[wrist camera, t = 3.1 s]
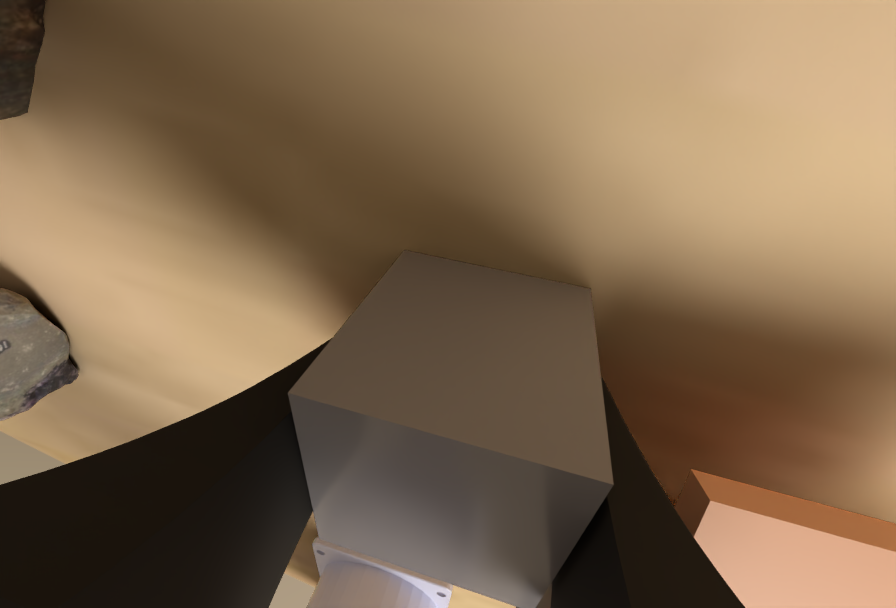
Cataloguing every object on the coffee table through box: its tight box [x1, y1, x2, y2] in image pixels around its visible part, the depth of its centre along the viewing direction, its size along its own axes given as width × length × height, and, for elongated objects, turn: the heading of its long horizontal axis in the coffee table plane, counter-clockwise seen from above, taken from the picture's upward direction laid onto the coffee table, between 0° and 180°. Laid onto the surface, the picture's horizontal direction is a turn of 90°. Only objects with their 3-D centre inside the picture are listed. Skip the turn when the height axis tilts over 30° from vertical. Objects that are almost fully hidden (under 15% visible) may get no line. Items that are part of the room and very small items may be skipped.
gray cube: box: [288, 250, 614, 608], centre depth 9 cm, size 5×5×5 cm
